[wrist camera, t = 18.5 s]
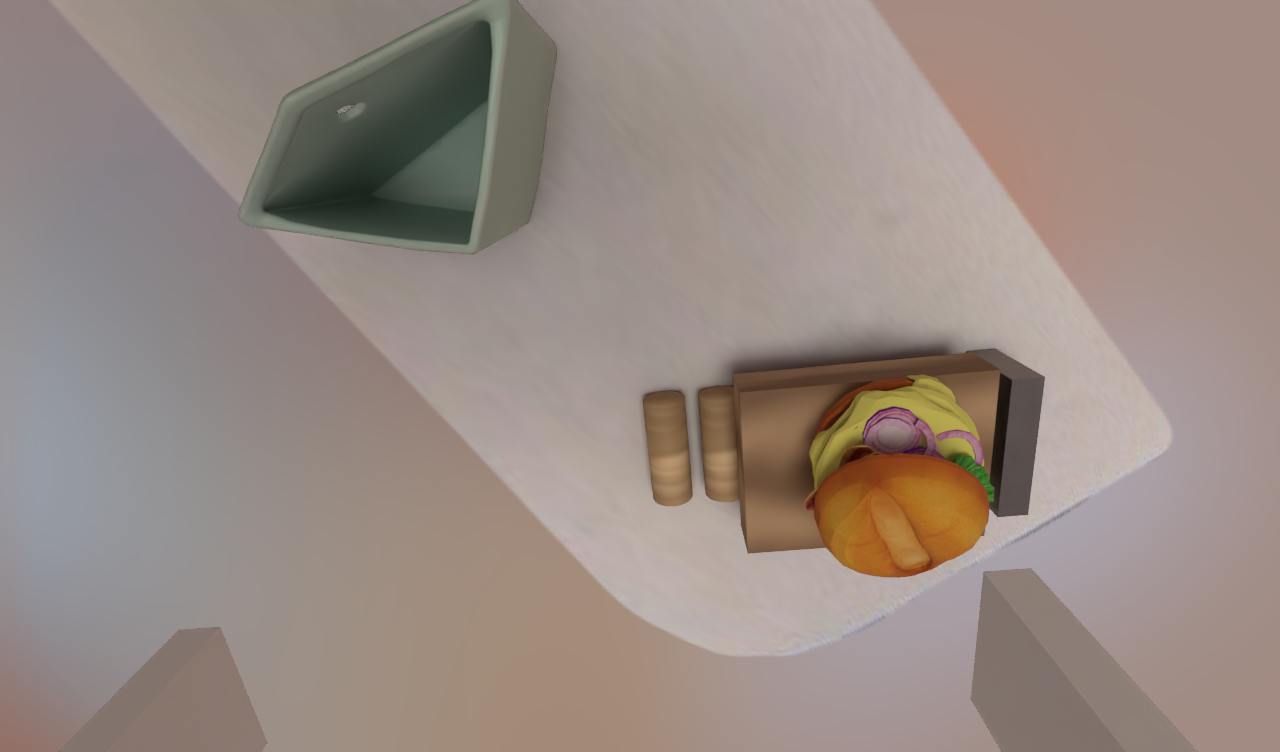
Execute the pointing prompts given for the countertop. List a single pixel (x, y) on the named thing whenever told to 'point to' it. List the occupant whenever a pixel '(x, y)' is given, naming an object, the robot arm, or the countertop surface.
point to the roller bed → (673, 449)
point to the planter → (415, 138)
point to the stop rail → (1014, 433)
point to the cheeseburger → (898, 478)
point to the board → (790, 417)
